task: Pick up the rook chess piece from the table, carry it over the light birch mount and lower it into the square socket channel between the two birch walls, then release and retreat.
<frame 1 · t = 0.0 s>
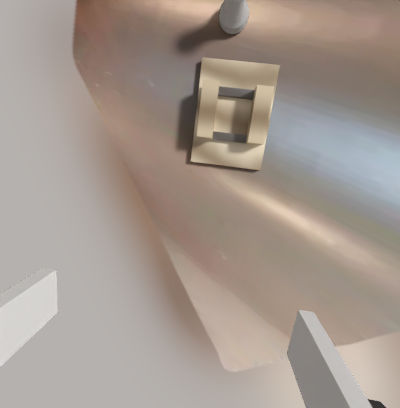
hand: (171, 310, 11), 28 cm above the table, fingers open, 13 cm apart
birch mount: (232, 117, 35), on the table
rook chess piece: (233, 20, 32), on the table
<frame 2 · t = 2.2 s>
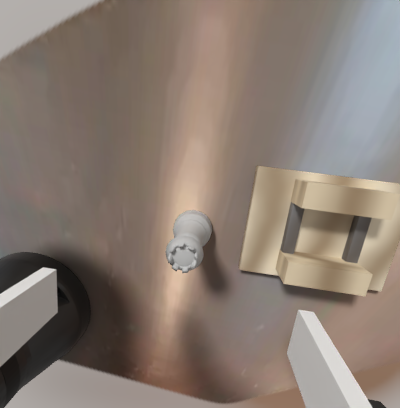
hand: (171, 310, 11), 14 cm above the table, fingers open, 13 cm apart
birch mount: (317, 228, 24), on the table
rook chess piece: (193, 226, 25), on the table
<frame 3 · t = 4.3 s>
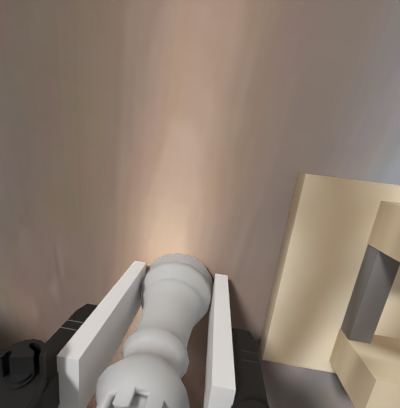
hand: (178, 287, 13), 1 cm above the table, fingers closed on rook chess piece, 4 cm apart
rook chess piece: (180, 279, 14), on the table, touching gripper
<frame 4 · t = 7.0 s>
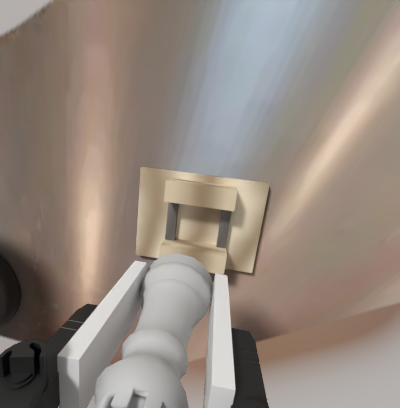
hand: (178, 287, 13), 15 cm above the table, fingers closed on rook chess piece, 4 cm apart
birch mount: (198, 219, 28), on the table
rook chess piece: (180, 279, 14), point 14 cm above the table, touching gripper
when the fingers open (4 cm above the table, at t = 9.6 s): rook chess piece drops 2 cm, resting on birch mount.
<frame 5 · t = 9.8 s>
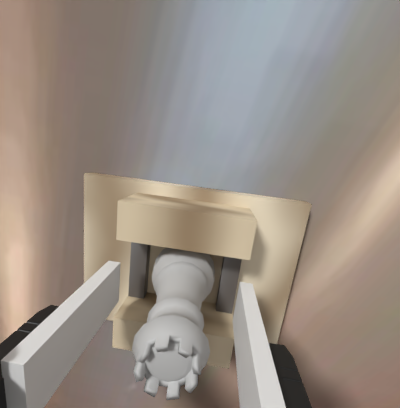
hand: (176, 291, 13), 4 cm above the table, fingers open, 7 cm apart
birch mount: (186, 260, 17), on the table
rook chess piece: (185, 266, 16), point 1 cm above the table, touching birch mount
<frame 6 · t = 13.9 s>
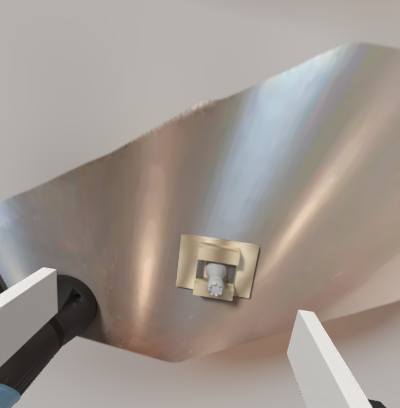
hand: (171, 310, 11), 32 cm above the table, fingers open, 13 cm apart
birch mount: (216, 264, 45), on the table
rook chess piece: (216, 266, 44), point 1 cm above the table, touching birch mount
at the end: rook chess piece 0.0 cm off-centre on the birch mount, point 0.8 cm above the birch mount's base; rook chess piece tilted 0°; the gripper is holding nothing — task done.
